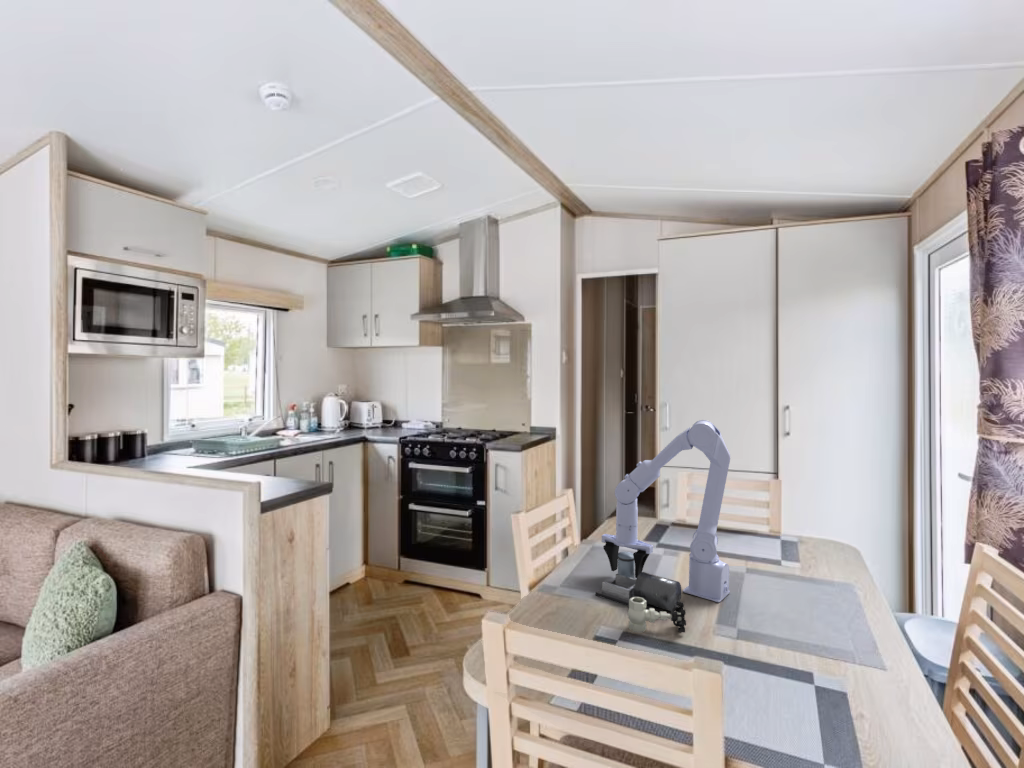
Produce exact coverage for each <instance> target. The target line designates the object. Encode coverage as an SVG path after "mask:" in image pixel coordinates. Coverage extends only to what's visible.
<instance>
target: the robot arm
mask: <svg viewBox="0 0 1024 768" xmlns="http://www.w3.org/2000/svg"><path fill="white" fill-rule="evenodd" d="M693 447H695V448H696V449H697V450H699V451H700V452H702V453H703V454H704V456H705V457H706V458H707V459H708V460H709V462H710V463H709V468H708V475H707V480H706V483H705V488H704V489H705V490H704V495H703V500H702V505H701V510H700V517H699V520H698V526H697V529H696V530H695V531H694V533H693V534H692V541H691V542H690V547H689V550H690V551H689V555H688V556H689V557H688V558H689V559H688V562H689V563H688V565H689V567H688V585H687V586H686V587H685V588H683V589H682V592H683V593H685V594H689V595H692V596H695V597H699V598H702V599H704V600H705V599H706V600H709V601H713V602H716V603H721V602H722V601H723V600H724V599H725V598H726V597H727V596H728V595H729V594H730V593H731V591H730V566H729V563H726V562H724V561H722V560H721V559H720V556H719V555H718V554H717V553H718V552H717V551H718V549H717V546H718V544H719V537H718V535H717V529H718V524H719V518H720V513H721V509H722V504H723V498H724V494H725V489H726V483H727V477H728V472H729V467H730V462H731V453H730V451H729V449H728V447H727V444H726V442H725V440H724V438H723V435H722V433H721V431H720V429H718V428H717V426H716V425H715V424H714V423H713V422H711V421H710V420H707V419H701V420H700V419H699V420H697V421H696V422H695V423H694V424H692V426H689V427H687V428H686V429H685V430H683V431H682V432H680V433H679V434H678V435H677V436H675V437H674V438H673V439H672V440H671V441H670V442H669V443H668V444H667V445H666V446H664V448H663V449H662V450H661V451H660V452H659V453H658V454H657V455H656V456H655V457H653V459H645V460H643V461H638V463H636V467H635V468H634V469H633V470H632V471H631V472H630V473H626V474H625V475H624V476H623V478H624V479H623V480H621V481H620V482H618V484H617V485H616V486H615V489H614V496H615V499H616V507H615V510H616V515H615V516H616V517H615V534H609V533H604V534H601V543H603V544H604V545H603V550H604V552H605V554H606V556H607V559H608V561H609V565H610V569H611V572H615V571H616V570H617V571H618V553H619V550H620V548H627V549H631V550H635V552H632V553H633V556H634V561H635V567H634V579H637V577H638V575H639V574H640V573H641V572H643V570H644V566H645V564H646V561H647V559H648V557H649V556H650V555H651V554H652V553H653V552H654V545H653V544H650V543H648V542H645V541H642V540H639V539H638V530H639V529H638V525H639V523H638V522H639V520H638V519H639V518H638V517H639V516H638V515H639V514H638V513H639V507H638V497H639V495H640V493H644V492H645V490H646V489H648V488H649V487H650V486H651V485H652V484H653V483H654V482H656V480H658V479H659V478H660V476H661V469H662V468H663V467H664V466H665V465H667V464H668V463H669V462H670V461H671V460H673V459H674V458H675V457H676V456H677V455H679V453H680V452H682V451H688V450H692V449H693Z"/></svg>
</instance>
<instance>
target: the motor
mask: <svg viewBox="0 0 1024 768" xmlns="http://www.w3.org/2000/svg"><path fill="white" fill-rule="evenodd" d="M682 592H683V589H682V585H681V583H680V581H678V580H674V579H670V578H666V577H663V576H659V575H656V574H652V573H648V572H645V571H642V572H641V573H640V574H639V575H638V577H637V578H635V577H634V578H631V577H627V576H624V575H621V574H618V573H616V574H615V580H613V581H612V582H607V581H602V583H601V588H600V589H598V590H597V591H596V592H595V596H597V597H599V598H602V599H606V600H609V601H612V602H615V603H618V604H620V605H623V606H627V607H629V600H630V598H632V597H641V598H643V599H645V600H646V605H649V606H654V607H657V608H659V609H662V610H666V611H669V612H671V611H672V609H673V608H674V607H678V606H679V605H676V602H677V601H678V602H681V599H682ZM675 612H676V610H675Z"/></svg>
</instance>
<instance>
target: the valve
mask: <svg viewBox="0 0 1024 768" xmlns="http://www.w3.org/2000/svg"><path fill="white" fill-rule="evenodd" d="M676 605H679V606H678V607H674V608H673V609H672V611H670V613H667V611H659V612H658V611H656V610H655V608H654V607H649V608H648V609H647V604H646V600H645V599H643V598H641V597H632V598H630V600H629V606H628V610H627V618H628V629H629V630H630V631H631V632H633V633H644V632H645V630H647V621H648V622H649V623H651V624H652V623H653V624H654V623H656V620H660V621H667V620H668V619H670V621H671V622H672V624H673V625H674V626H675V627H677V631H678V632H680V633H686V627H685V626H687V620H686V619H685V618H686V617H685V616H686V615H687V614H686V613H687V612H686V611H687V610H686V609H685V607H684V606H685V604H684V602H683V601H680V602H678V601H677V602H676ZM675 610H676V611H675Z"/></svg>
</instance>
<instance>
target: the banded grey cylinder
mask: <svg viewBox="0 0 1024 768" xmlns="http://www.w3.org/2000/svg"><path fill="white" fill-rule="evenodd" d="M633 553H634V552H630V551H620V552H618V567H617V574H621V575H624V576H627V577H631V578H634V579H635V561H634V556H633Z"/></svg>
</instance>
